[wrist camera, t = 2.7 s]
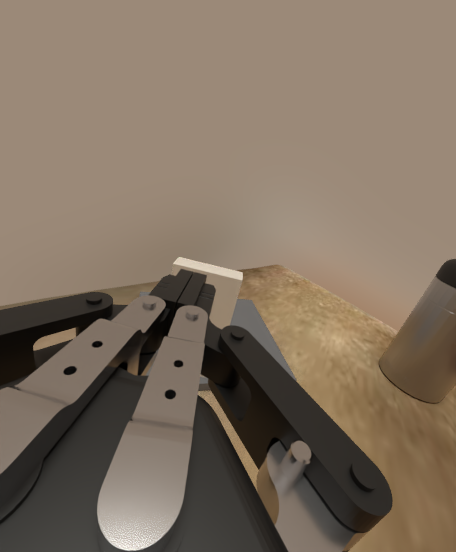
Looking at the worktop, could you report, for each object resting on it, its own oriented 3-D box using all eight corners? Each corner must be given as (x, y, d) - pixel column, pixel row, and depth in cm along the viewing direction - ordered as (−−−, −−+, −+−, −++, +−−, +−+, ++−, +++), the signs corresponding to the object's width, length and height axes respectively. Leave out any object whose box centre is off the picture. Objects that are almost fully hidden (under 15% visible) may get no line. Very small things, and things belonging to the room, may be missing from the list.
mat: (250, 304, 50) (251, 300, 49) (293, 386, 32) (296, 380, 32) (139, 297, 43) (140, 291, 43) (120, 394, 26) (121, 386, 25)
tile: (214, 379, 29) (242, 280, 23) (159, 366, 29) (173, 263, 23) (216, 366, 31) (242, 271, 25) (165, 353, 31) (179, 256, 25)
